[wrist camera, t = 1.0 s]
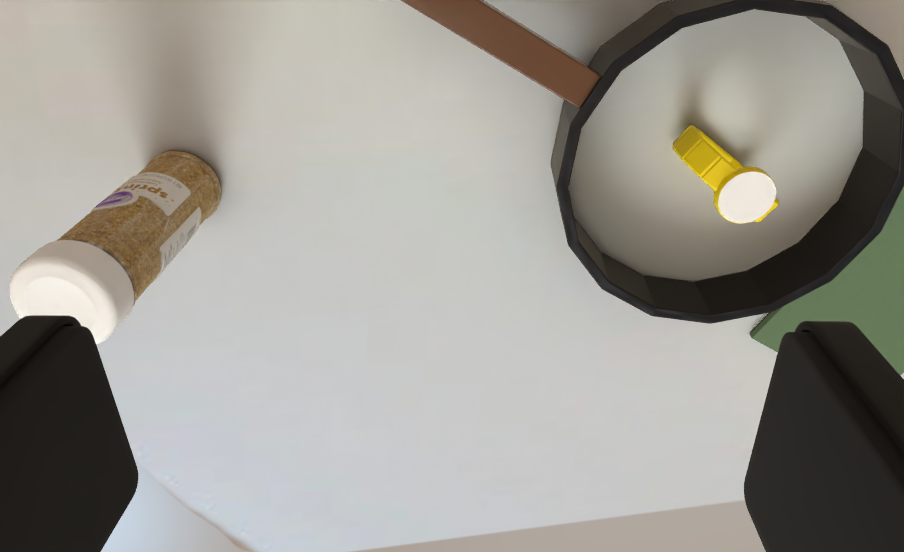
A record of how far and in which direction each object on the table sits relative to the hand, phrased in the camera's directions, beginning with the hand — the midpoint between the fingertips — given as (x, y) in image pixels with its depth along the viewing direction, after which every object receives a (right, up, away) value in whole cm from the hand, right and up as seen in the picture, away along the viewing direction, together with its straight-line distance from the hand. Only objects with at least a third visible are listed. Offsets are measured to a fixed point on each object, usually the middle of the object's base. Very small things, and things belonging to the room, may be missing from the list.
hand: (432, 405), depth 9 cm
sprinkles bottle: (-15, +7, +31) cm, 35 cm away
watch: (+15, +9, +28) cm, 33 cm away
